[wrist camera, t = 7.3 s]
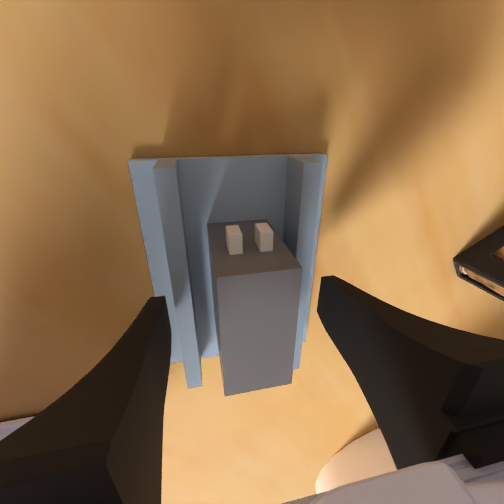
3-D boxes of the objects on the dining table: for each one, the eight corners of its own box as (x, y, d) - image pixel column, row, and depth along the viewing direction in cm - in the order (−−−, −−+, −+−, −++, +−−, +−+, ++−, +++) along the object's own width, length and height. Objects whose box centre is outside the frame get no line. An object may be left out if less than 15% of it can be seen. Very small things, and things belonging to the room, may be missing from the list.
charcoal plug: (214, 319, 16) (224, 396, 12) (205, 207, 13) (214, 256, 9) (264, 312, 17) (291, 383, 12) (266, 203, 14) (304, 247, 9)
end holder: (168, 356, 17) (165, 392, 15) (130, 158, 12) (117, 169, 10) (301, 334, 19) (317, 364, 17) (322, 152, 14) (349, 161, 11)
